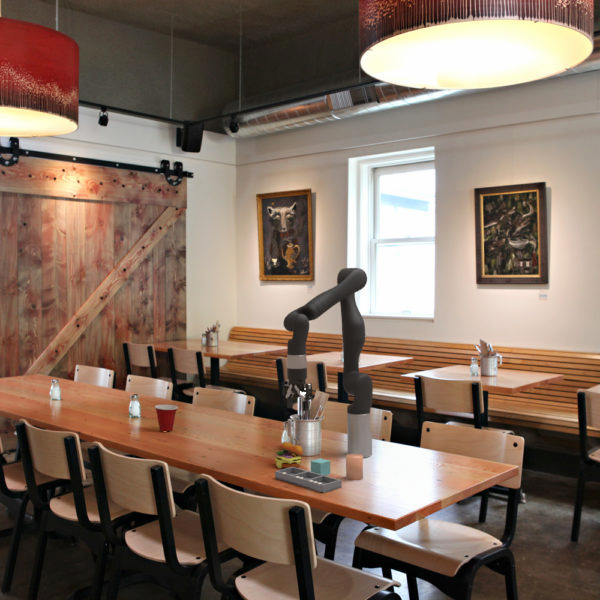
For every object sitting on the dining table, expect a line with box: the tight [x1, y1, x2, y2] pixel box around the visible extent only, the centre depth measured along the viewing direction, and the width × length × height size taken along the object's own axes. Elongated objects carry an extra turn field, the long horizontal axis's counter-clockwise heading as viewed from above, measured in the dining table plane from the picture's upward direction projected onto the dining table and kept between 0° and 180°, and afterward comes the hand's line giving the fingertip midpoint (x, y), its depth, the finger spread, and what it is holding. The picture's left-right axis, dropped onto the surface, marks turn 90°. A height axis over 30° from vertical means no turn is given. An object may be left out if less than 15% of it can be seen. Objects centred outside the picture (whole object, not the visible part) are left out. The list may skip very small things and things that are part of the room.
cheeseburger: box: [274, 441, 304, 470], centre depth 263 cm, size 10×11×10 cm
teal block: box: [310, 458, 331, 476], centre depth 250 cm, size 5×5×5 cm
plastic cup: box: [154, 404, 179, 432], centre depth 325 cm, size 11×11×12 cm
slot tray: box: [274, 467, 343, 494], centre depth 239 cm, size 9×24×3 cm, turn 44°
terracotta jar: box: [345, 454, 364, 481], centre depth 245 cm, size 6×6×8 cm
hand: (297, 409), depth 260 cm, fingers open, 8 cm apart
